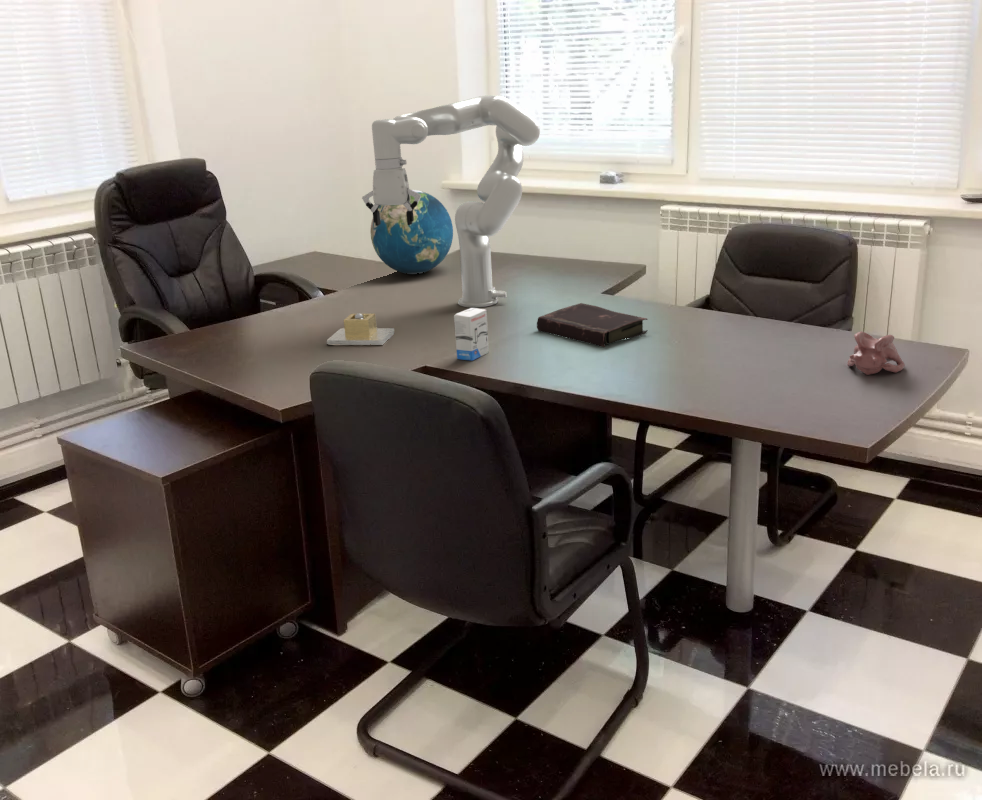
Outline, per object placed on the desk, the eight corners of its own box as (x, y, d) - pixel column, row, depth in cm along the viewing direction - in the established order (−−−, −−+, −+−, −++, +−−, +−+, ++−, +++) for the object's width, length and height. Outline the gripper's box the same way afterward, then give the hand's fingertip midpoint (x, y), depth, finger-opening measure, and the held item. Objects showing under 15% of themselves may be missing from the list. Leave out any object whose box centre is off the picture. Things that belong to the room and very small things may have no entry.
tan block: (376, 330, 265) (375, 313, 263) (369, 337, 258) (367, 320, 257) (353, 330, 266) (351, 313, 264) (345, 337, 260) (343, 320, 258)
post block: (394, 333, 267) (392, 307, 264) (382, 345, 256) (380, 319, 253) (341, 333, 270) (338, 308, 267) (327, 345, 258) (324, 319, 256)
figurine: (848, 378, 223) (833, 365, 211) (857, 337, 224) (843, 321, 211) (902, 386, 216) (889, 373, 204) (911, 343, 217) (899, 328, 204)
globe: (465, 264, 351) (460, 183, 341) (440, 282, 325) (434, 195, 314) (392, 264, 359) (385, 185, 349) (361, 282, 333) (353, 196, 322)
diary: (602, 350, 243) (602, 332, 242) (537, 333, 261) (536, 316, 260) (649, 333, 254) (649, 316, 253) (583, 318, 273) (582, 302, 271)
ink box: (472, 361, 238) (469, 316, 234) (455, 359, 240) (452, 315, 236) (489, 352, 245) (487, 308, 241) (474, 350, 247) (471, 306, 243)
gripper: (421, 162, 268) (425, 221, 274) (363, 164, 271) (369, 223, 277) (414, 165, 261) (419, 226, 267) (355, 167, 264) (361, 227, 270)
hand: (393, 224), depth 272 cm, fingers open, 9 cm apart
